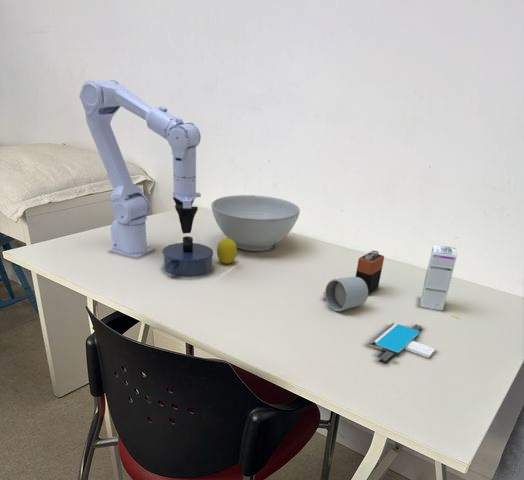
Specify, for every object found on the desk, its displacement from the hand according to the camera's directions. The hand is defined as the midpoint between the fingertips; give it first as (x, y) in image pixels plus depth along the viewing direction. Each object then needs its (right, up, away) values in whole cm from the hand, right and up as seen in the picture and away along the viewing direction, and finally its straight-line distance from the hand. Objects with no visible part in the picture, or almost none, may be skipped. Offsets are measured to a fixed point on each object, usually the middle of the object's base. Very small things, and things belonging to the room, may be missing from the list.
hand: (185, 228), depth 133 cm
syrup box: (+63, -21, -7) cm, 67 cm away
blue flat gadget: (+51, -32, -26) cm, 66 cm away
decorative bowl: (+18, 0, +24) cm, 30 cm away
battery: (+48, -17, -1) cm, 51 cm away
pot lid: (+1, -7, 0) cm, 7 cm away
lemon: (+11, -9, +7) cm, 16 cm away
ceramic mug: (+40, -22, -11) cm, 47 cm away
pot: (0, -11, +2) cm, 11 cm away
